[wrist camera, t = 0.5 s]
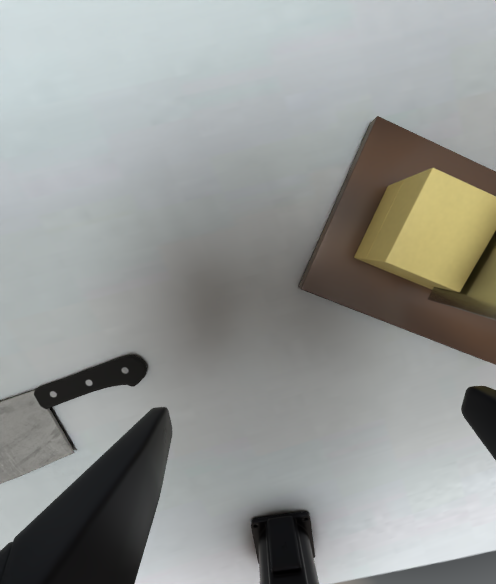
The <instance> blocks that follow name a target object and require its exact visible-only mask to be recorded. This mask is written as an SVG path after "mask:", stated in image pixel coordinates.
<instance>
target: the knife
mask: <svg viewBox="0 0 496 584" xmlns="http://www.w3.org/2000/svg"><path fill="white" fill-rule="evenodd" d="M494 196H496V195H494ZM427 299H428V300H431V301H434V302H437V303H440V304H444V305H447V306H450V307H453V308H457V309H460V310H463V311H466V312H470V313H473V314H476V315H479V316H483V317H486V318H489V319H492V320H495V321H496V231H495V233H494V234H493V236H492V238H491V239H490V241H489V243H488V245H487V246H486V248H485V250H484V252H483V253H482V255H481V257H480V258H479V260H478V262H477V264H476V265H475V267H474V269H473V270H472V272H471V274H470V276H469V277H468V279H467V281H466V282H465V284H464V286H463V288H462V289H461V291H460V292H455V291H451V290H446V289H442V288H438V287H434V288H433V289H432V291H431V293H430V295H429V297H428V298H427Z"/></svg>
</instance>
